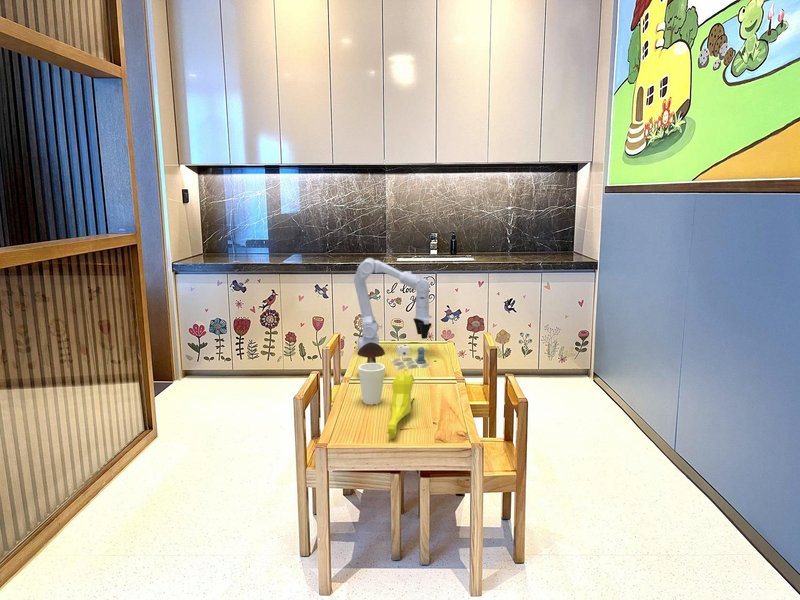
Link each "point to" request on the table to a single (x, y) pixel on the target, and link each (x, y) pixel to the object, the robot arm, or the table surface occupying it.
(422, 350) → the pawn
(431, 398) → the table surface
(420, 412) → the table surface
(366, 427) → the table surface
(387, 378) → the table surface
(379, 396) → the foam cup
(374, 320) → the robot arm
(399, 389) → the banana
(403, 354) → the die
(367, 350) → the decorative mushroom
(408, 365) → the board
